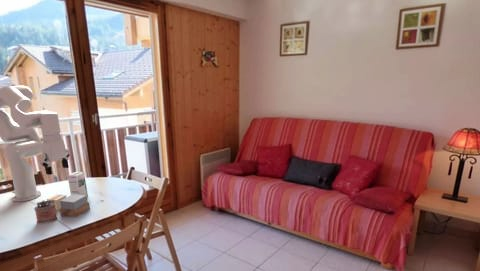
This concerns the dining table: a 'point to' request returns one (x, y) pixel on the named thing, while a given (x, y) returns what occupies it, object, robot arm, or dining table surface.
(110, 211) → the dining table surface
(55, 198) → the birch cube
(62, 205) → the slate block
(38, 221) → the lighter
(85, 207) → the walnut block
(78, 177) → the syrup box
